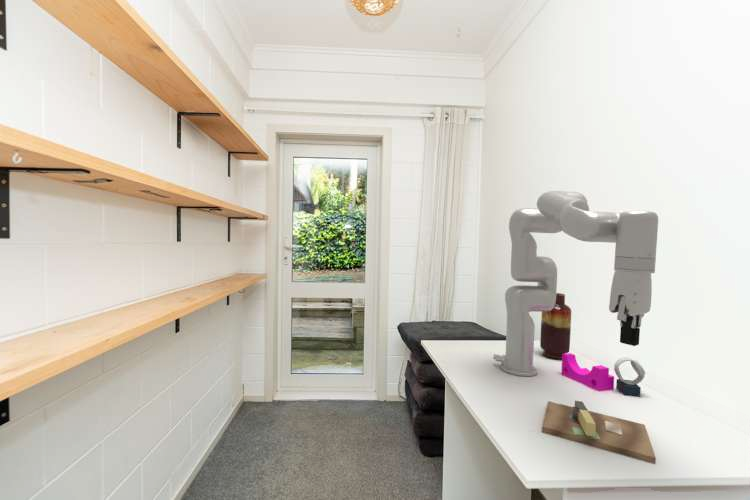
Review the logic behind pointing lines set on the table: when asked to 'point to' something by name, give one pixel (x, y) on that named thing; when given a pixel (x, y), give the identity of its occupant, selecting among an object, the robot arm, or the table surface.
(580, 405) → the lever handle
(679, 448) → the table surface
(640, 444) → the wooden lever switch board
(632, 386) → the watch
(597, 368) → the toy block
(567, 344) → the vase
